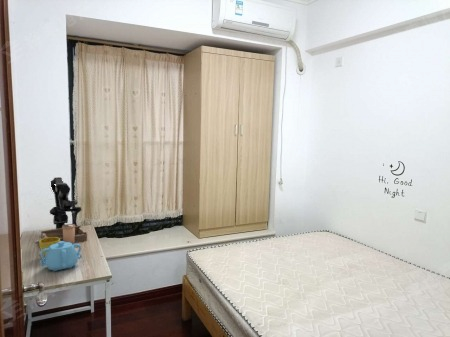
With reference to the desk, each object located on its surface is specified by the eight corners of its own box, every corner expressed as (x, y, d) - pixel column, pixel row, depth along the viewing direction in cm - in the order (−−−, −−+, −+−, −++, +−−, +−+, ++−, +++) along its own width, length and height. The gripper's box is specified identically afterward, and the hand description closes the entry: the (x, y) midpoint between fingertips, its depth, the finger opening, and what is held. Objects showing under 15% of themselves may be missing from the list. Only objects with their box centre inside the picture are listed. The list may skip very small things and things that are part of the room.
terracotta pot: (61, 244, 196) (60, 224, 195) (73, 242, 201) (73, 223, 199) (64, 247, 191) (63, 227, 189) (76, 245, 195) (76, 225, 194)
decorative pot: (62, 275, 154) (61, 249, 153) (36, 270, 158) (35, 244, 157) (85, 263, 170) (85, 239, 168) (61, 259, 174) (60, 235, 173)
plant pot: (53, 260, 172) (53, 243, 171) (35, 259, 172) (35, 242, 171) (64, 253, 182) (63, 237, 181) (46, 252, 183) (46, 236, 182)
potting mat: (59, 245, 195) (59, 244, 195) (76, 242, 202) (76, 241, 202) (62, 249, 188) (62, 249, 188) (80, 246, 194) (80, 246, 194)
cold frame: (41, 239, 204) (41, 231, 203) (80, 233, 219) (80, 225, 219) (46, 247, 191) (46, 237, 191) (87, 239, 207) (87, 231, 206)
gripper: (56, 194, 196) (61, 217, 190) (83, 195, 211) (88, 216, 206) (47, 202, 201) (51, 225, 195) (74, 202, 216) (79, 223, 211)
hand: (68, 222), depth 202 cm, fingers open, 9 cm apart
